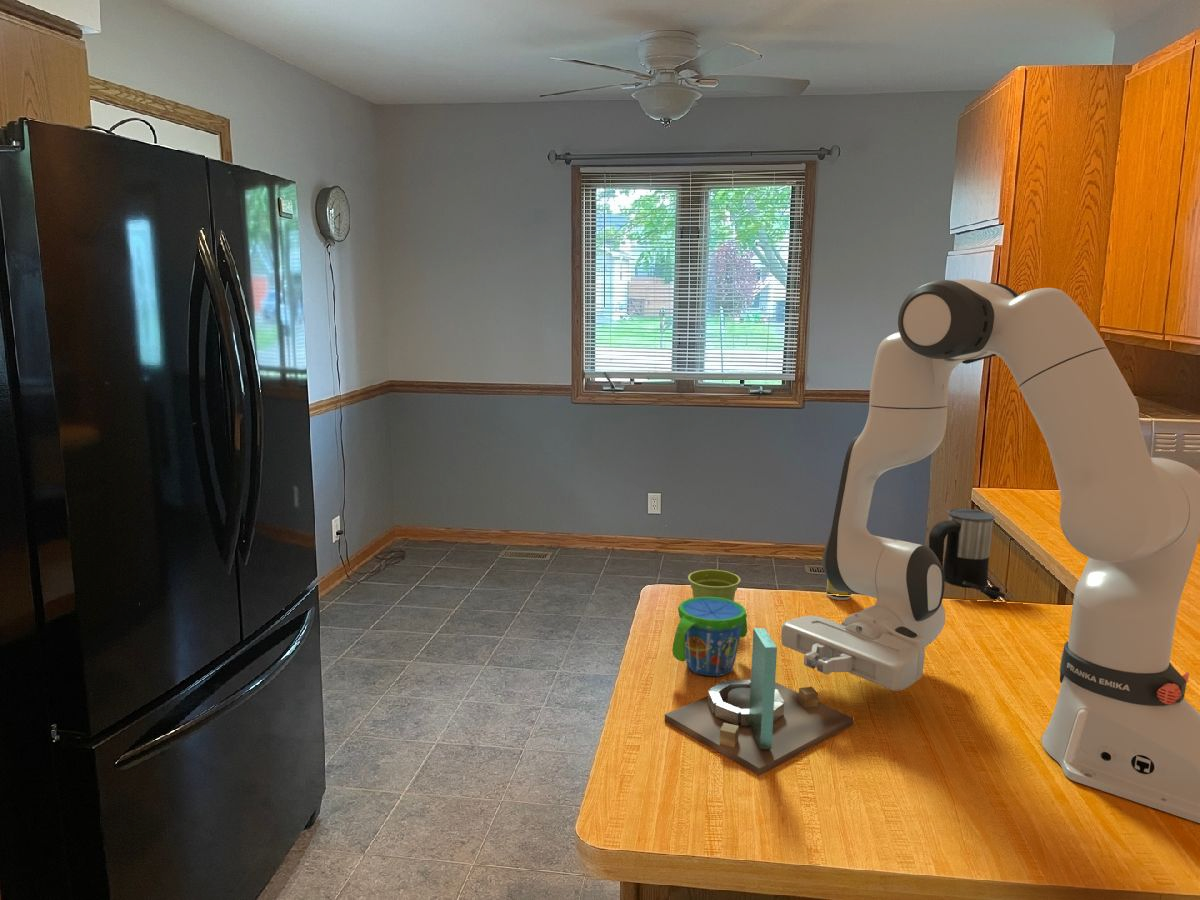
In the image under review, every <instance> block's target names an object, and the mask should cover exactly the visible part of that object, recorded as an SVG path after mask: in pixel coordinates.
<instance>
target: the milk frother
mask: <svg viewBox="0 0 1200 900" xmlns="http://www.w3.org/2000/svg"><path fill="white" fill-rule="evenodd" d="M947 514H948V520H942V521H939V522H937V523H935V525H933V527H932V528H931V529H930V532H929V536H928V547H929V548H930V549H931V550H932V551H933V552H934V553H935V555H936V556H937V558H938V560H939V562H940V564H941V566H942V569H943V572H944V581H945V583H946V584H949V585H952V586H955V587H960V588H967V589H974V590H977V591H980V593H983V594H984V595H985V596H987V597H988V598H989V599H991V600H995V601H996V600H997V599H998V598H1005V597H1006V594H1005V593H1003V590H1001V588H1000V587H999V586H995V585H992V586H989V582H988V577H989V576H988V575H989V574H988V573H989V563H990V553H991V547H992V546H991V545H992V544H991V543H992V537H993V536H992V535H993V526H994V520H995V519H996V516H995V515H994V514H993V513H990V512H987V511H984V510H978V509H972V508H951V509H948V510H947ZM945 538H946V539H945ZM945 540H946V541H945Z"/></svg>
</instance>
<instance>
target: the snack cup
mask: <svg viewBox="0 0 1200 900" xmlns="http://www.w3.org/2000/svg"><path fill="white" fill-rule="evenodd" d="M677 611H678V616H679V619H680V621H679V622H678V625H677V627H676V630H675V634H674V637H673V638H674V639H673V643H672V648H671V649H672V650H671V651H672V655H673V657H674V659H676V660H677V661H680V662H685V663H686V665H687V667H688V668H689V669H690V670H691V671H692V672H693V673H694V674H698V675H702V676H708V677H721V676H723V675H727V674H728V673H730V672H731V671H733V670H734V665H735V662H736V657H737V653H738V649H739V644H740V639H741V638H745V637H746V636H747V635H748V634H747V633H748V623H747V621H748V620H747V617H748V615H747V614H748V613H747V611H746V608H745V607H744V606H743V605H742V604H740V603H738V602H737V601H735V600H734V601H732V600H728V599H724V598H718V597H695V598H693V597H691V598H687V599H685V600H683V601H682V602H681V603H680V604H679V605H678V608H677Z"/></svg>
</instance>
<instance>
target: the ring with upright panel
mask: <svg viewBox="0 0 1200 900" xmlns="http://www.w3.org/2000/svg"><path fill="white" fill-rule="evenodd" d="M752 630H753V632H752V634H753V635H752V650H751V651H752V653H751V669H750V670H751V671H750V672H751V673H750V678H751V681H750V680H746V679H725V681H724V680H722V681H720V682H718V683H716V684H715V685H713V686H712V687H711V688H709V689H708V690H707V692H708V695H707V696H708V703H709V705H710V708H711V710H712V713H713V714H715V716H716V717H719V718H721V719H724V720H726V721H729V722H731V723H734V724H736V725H738V724H739V723H740V724H741V726H746V725H749V727H750V729H751V731H752V734H753V736H754V738H755V740H756V742H757V744H758V746H759V748H760V749H771V748H772V730H773V722H774V721H775V720H776V719H778V718H779V717H780V716H782V715H783V713H784V700H783V698H782V697H781V695H780V693H779V692H778V690H777V689H775V682H776V675H777V674H776V672H777V656H778V655H777V654H778V646H777V645H776V643H775V641H774V640H773V639H772V637H771V635H770V634H769V632H768V631H767V629H766V628H764V627H762V628H761V627H759V628H758V627H756V628H755V627H754V628H753V629H752ZM736 688H750V709H740V708H738V707H735V706H733V705H730V704H728V703H725V702H723V701H722V700H723V699H724V698H726V697H728V693H729V692H730V691H731V690H733V689H736Z"/></svg>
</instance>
